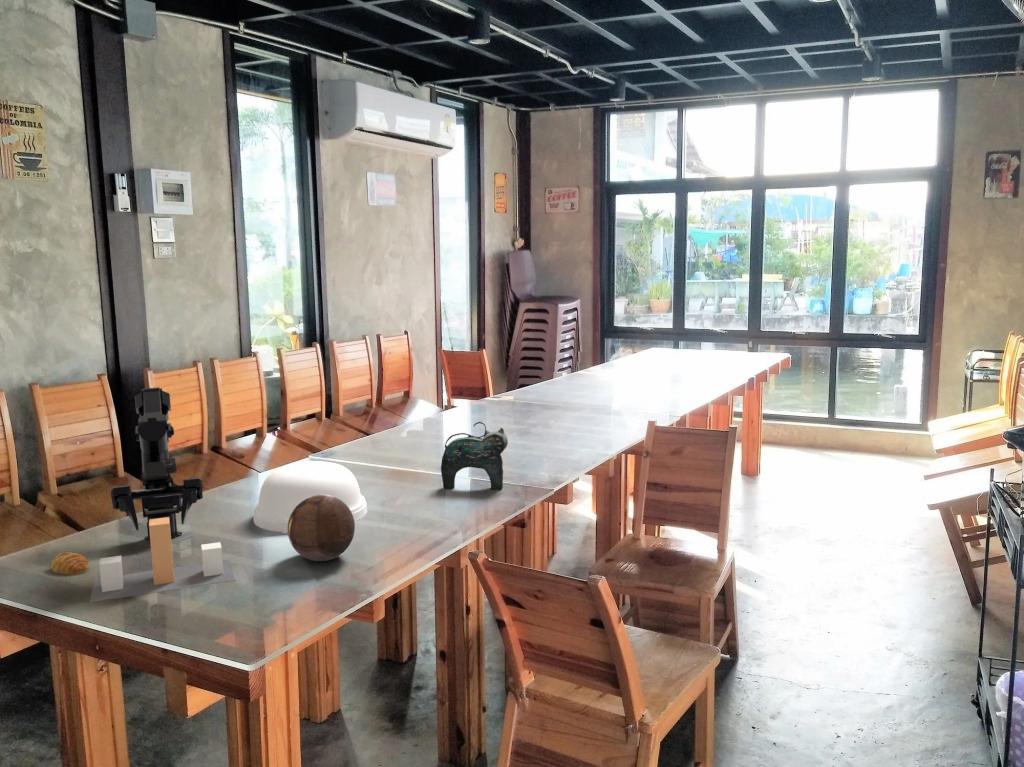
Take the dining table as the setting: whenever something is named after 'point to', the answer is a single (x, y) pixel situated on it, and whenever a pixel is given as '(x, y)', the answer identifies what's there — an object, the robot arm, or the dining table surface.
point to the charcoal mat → (145, 584)
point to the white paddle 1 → (111, 573)
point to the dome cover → (305, 492)
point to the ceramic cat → (475, 456)
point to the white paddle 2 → (212, 559)
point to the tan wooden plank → (161, 550)
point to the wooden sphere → (321, 527)
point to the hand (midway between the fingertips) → (160, 526)
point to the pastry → (69, 564)
